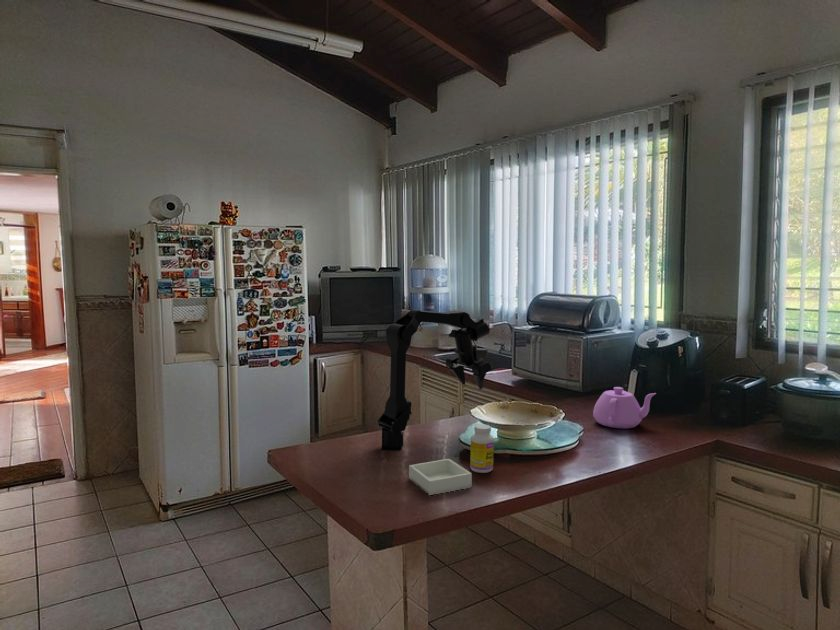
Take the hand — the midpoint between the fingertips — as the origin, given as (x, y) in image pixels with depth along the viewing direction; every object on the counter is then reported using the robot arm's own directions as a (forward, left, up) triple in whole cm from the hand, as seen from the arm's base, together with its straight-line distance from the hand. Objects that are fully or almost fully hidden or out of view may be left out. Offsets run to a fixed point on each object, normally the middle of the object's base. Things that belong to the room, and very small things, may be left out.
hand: (472, 386), depth 207 cm
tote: (-11, -50, -15) cm, 54 cm away
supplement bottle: (+1, -39, -16) cm, 42 cm away
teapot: (+56, +8, -16) cm, 59 cm away
